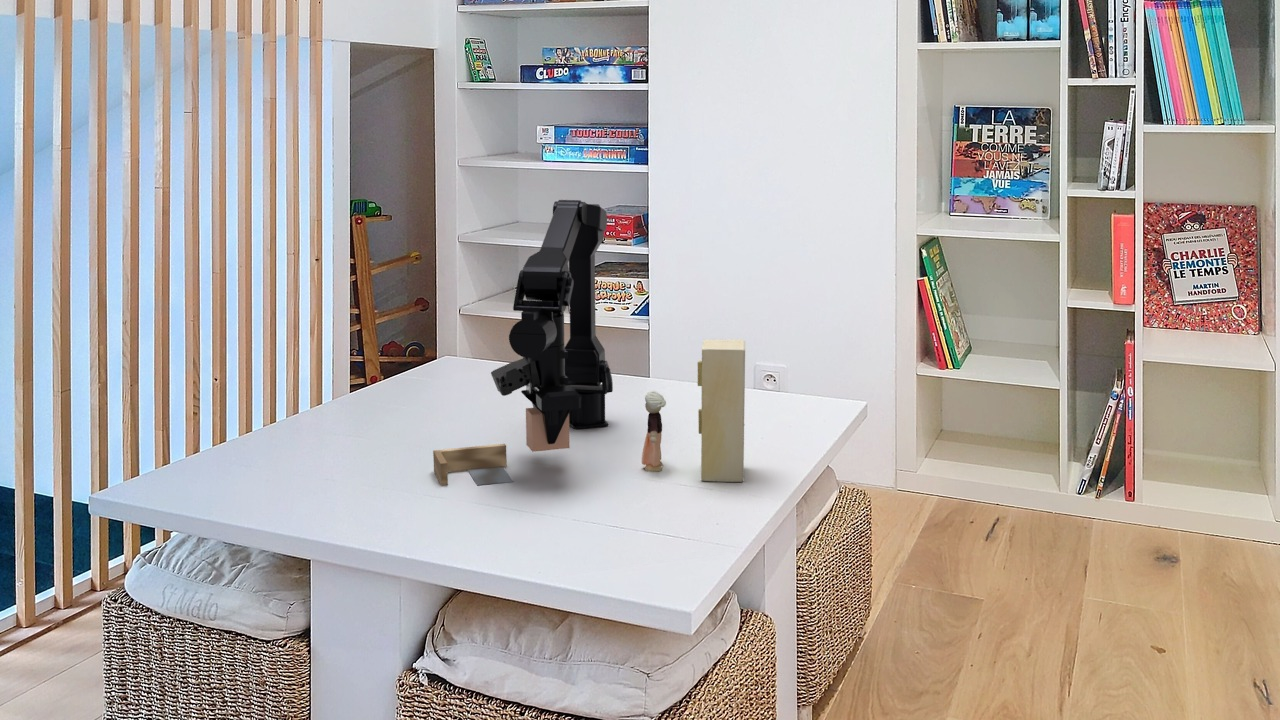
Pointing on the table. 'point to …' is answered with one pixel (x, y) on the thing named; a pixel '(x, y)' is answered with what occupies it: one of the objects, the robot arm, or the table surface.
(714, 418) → the toy refrigerator
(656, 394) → the grandmother figurine
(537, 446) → the terracotta block
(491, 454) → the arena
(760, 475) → the table surface
